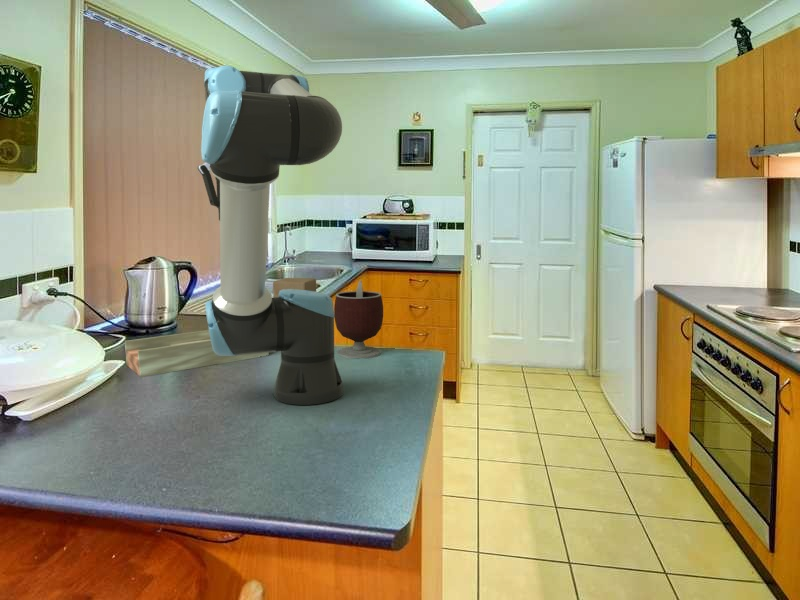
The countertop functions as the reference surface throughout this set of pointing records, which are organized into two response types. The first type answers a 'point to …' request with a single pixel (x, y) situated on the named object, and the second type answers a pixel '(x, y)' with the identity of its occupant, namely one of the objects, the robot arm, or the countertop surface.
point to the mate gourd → (358, 320)
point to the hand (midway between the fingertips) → (228, 234)
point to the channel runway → (175, 353)
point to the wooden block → (294, 284)
